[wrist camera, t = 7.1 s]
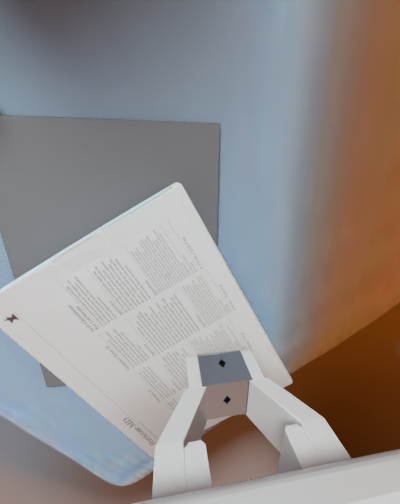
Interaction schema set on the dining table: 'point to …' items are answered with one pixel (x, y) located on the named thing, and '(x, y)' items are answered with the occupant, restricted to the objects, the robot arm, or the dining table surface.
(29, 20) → the dining table surface
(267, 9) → the dining table surface
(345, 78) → the dining table surface
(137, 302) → the skincare box
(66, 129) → the mat
